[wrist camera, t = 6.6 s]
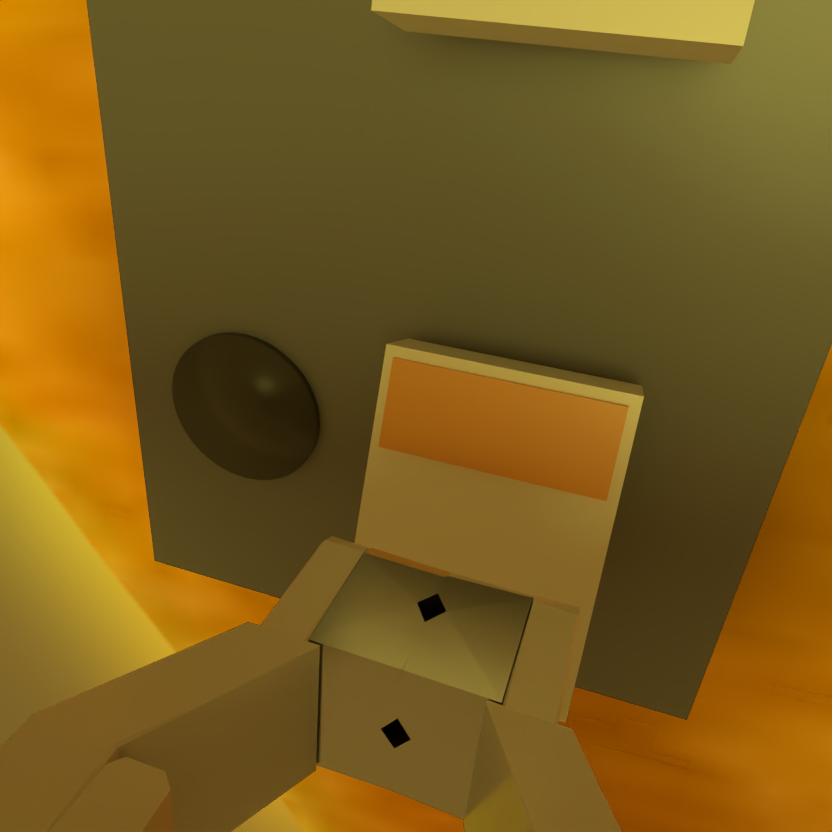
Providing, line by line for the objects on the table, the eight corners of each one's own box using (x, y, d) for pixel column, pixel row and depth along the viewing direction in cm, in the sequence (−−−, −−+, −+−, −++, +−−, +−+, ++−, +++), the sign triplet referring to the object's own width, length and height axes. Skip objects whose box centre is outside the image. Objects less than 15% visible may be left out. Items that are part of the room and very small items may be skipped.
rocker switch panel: (686, 629, 19) (686, 748, 16) (213, 500, 23) (136, 579, 19) (1168, -736, 9) (1450, -1176, 6) (138, -612, 12) (-63, -845, 9)
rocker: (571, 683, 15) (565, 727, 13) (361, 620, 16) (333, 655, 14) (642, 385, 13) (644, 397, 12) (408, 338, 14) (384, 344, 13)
